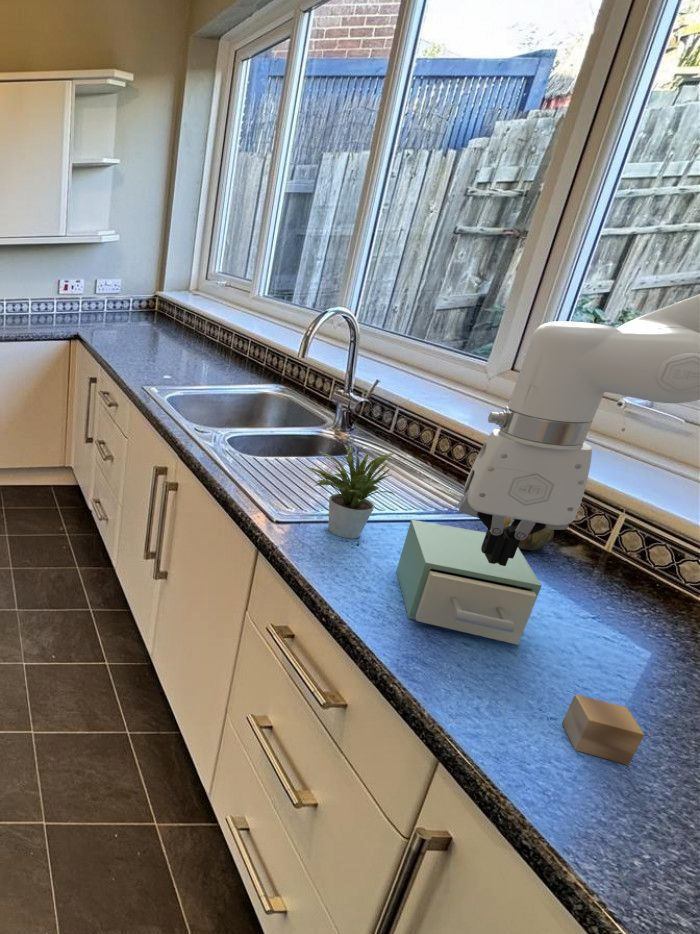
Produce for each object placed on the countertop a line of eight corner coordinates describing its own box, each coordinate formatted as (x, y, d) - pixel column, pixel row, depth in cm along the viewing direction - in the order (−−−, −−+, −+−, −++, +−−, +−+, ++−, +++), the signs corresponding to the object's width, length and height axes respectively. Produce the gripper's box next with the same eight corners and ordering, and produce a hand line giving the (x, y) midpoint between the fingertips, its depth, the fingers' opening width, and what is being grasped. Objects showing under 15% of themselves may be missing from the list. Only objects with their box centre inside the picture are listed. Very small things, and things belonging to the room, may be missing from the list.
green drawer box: (518, 644, 85) (541, 585, 81) (408, 618, 91) (425, 562, 87) (492, 590, 97) (511, 536, 93) (396, 570, 102) (411, 519, 99)
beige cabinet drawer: (529, 667, 79) (549, 617, 77) (421, 640, 85) (437, 593, 82) (493, 593, 94) (509, 549, 92) (404, 575, 100) (416, 532, 97)
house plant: (335, 506, 125) (353, 430, 119) (407, 536, 113) (431, 454, 107) (286, 521, 119) (303, 442, 113) (357, 554, 107) (380, 468, 101)
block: (612, 737, 70) (627, 707, 68) (628, 765, 66) (645, 734, 65) (561, 723, 72) (574, 693, 70) (574, 750, 68) (589, 719, 67)
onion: (547, 542, 110) (563, 502, 107) (550, 561, 104) (566, 519, 101) (492, 530, 115) (506, 491, 112) (492, 547, 109) (506, 506, 106)
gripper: (472, 427, 74) (429, 559, 81) (643, 448, 67) (581, 590, 74) (459, 410, 80) (420, 534, 87) (615, 427, 73) (560, 560, 80)
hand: (494, 559), depth 80 cm, fingers closed
